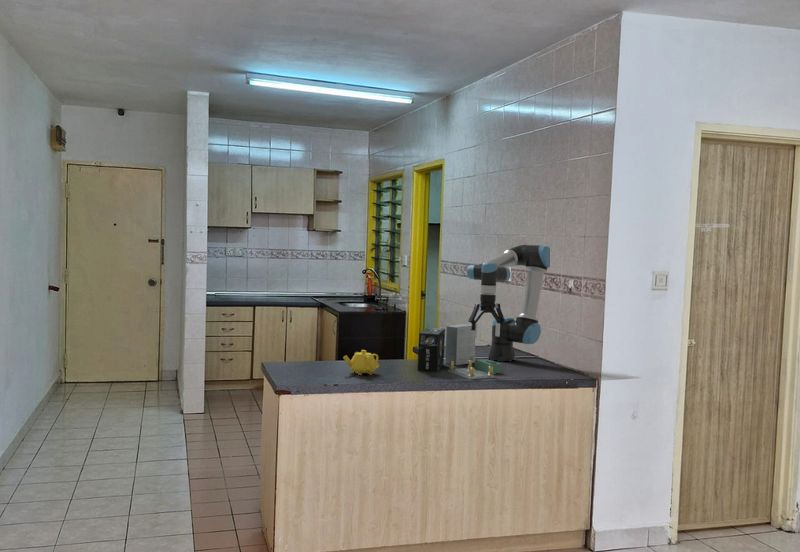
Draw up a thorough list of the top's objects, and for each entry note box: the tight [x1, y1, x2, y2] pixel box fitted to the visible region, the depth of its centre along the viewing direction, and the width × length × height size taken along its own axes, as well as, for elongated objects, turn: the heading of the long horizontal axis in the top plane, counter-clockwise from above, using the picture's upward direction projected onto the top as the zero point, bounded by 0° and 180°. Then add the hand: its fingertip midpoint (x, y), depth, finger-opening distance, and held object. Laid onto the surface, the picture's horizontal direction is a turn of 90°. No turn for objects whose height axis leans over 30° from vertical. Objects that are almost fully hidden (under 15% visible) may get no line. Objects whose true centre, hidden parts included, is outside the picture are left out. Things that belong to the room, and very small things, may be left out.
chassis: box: [447, 360, 495, 380], centre depth 351 cm, size 13×20×5 cm, turn 27°
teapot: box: [342, 349, 380, 376], centre depth 341 cm, size 14×14×11 cm
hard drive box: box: [444, 323, 476, 366], centre depth 382 cm, size 16×8×20 cm, turn 134°
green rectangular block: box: [474, 358, 503, 375], centre depth 362 cm, size 7×14×6 cm, turn 24°
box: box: [417, 327, 446, 373], centre depth 364 cm, size 23×10×19 cm, turn 168°
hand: (486, 336), depth 362 cm, fingers open, 13 cm apart
